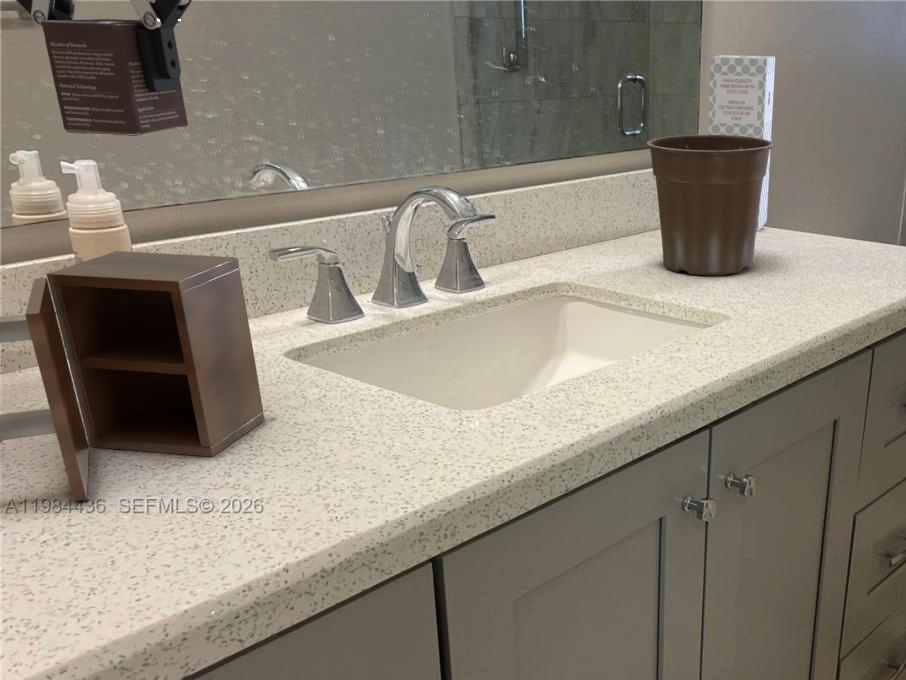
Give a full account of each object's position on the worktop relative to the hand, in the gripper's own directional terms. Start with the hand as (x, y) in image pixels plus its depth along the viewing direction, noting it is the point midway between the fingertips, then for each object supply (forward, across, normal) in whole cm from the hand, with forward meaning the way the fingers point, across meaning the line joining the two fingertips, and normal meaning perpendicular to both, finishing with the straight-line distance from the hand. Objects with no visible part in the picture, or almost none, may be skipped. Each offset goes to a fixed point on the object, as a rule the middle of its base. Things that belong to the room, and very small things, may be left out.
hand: (120, 86), depth 74 cm
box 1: (+3, 0, 0) cm, 3 cm away
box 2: (+26, -36, -98) cm, 108 cm away
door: (+26, +4, +12) cm, 29 cm away
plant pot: (+26, -35, -67) cm, 80 cm away
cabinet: (+26, 0, +2) cm, 26 cm away
